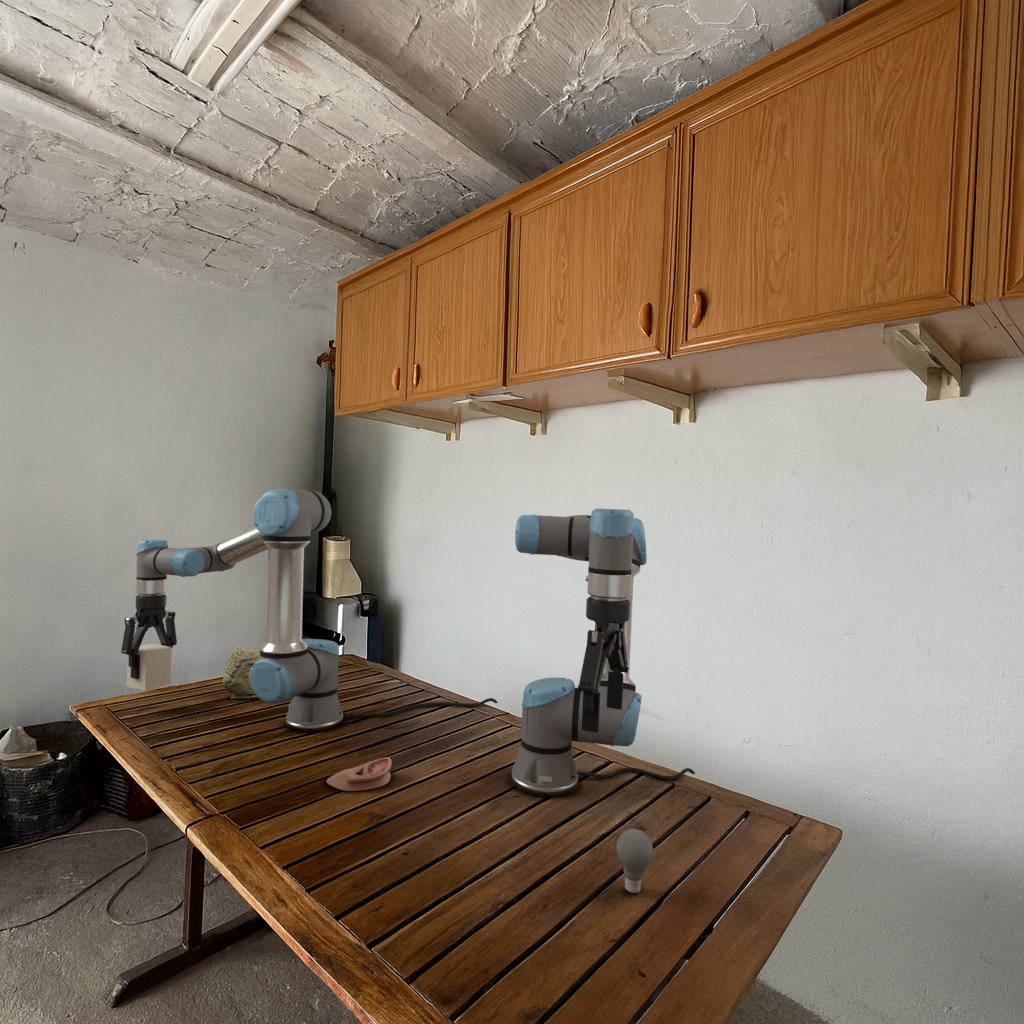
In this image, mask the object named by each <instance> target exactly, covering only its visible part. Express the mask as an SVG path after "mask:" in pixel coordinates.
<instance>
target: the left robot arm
mask: <svg viewBox="0 0 1024 1024" xmlns="http://www.w3.org/2000/svg"><path fill="white" fill-rule="evenodd" d="M331 518H332V507H331V504H330V502H329V500H328V499H327V497H325V495H323V494H322V493H321V492H319V491H316V490H313V489H312V490H311V489H293V488H273V489H270V490H268V491H265V492H264V493H263V494H262V495H261V496H260V497H258V499H257V500H256V502H255V504H254V507H253V511H252V521H253V525H254V526H252V527H250V528H247V529H245V530H243V531H241V532H239V533H237V534H234V535H233V536H230V537H228V538H226V539H224V540H222V541H220V542H218V543H215V544H213V545H210V546H199V547H198V546H197V547H185V548H184V547H181V548H178V547H169V545H168V544H169V543H168V540H166V539H160V538H156V539H155V538H153V539H150V538H149V539H148V538H147V539H140V540H139V541H138V542H137V548H136V553H135V556H136V575H135V576H136V583H135V584H136V585H135V594H137V595H136V596H135V610H136V612H135V614H134V615H133V616H130V617H127V616H126V617H125V618H124V632H123V638H122V644H121V650H120V653H121V654H123V655H126V656H127V662H128V661H129V662H128V665H129V667H131V678H134V679H139V673H140V655H137V653H138V650H139V648H140V646H142V642H143V640H144V638H145V635H146V633H147V632H148V630H149V629H151V628H154V630H155V632H156V635H157V638H158V639H159V643H160V645H163V646H168V647H172V649H173V648H174V646H177V644H178V641H177V640H178V639H177V631H176V622H175V619H176V614H177V613H176V612H175V611H172V610H171V611H170V610H168V611H167V610H166V607H167V594H166V593H167V591H168V576H175V577H176V576H177V577H181V578H186V577H188V578H189V577H190V578H192V577H196V576H197V575H200V574H205V573H216V572H224V571H227V570H228V571H229V570H232V569H233V568H235V566H236V565H237V563H240V562H242V561H244V560H246V559H248V558H251V557H253V556H255V555H258V554H260V553H262V552H265V551H267V550H268V561H267V562H268V563H267V597H266V599H267V600H266V602H267V603H266V604H267V605H266V606H267V607H266V640H265V642H264V643H263V644H262V645H261V646H260V647H259V648H260V660H259V661H256V663H254V665H253V666H252V667H251V670H250V673H249V680H250V685H251V687H252V690H253V691H254V693H256V694H257V696H258V697H257V698H259V700H261V701H263V702H265V703H267V704H278V703H282V702H286V701H290V700H291V701H290V703H289V704H288V711H287V713H286V715H285V726H286V728H287V729H289V730H291V731H294V732H295V731H296V732H301V733H316V732H325V731H329V730H332V729H335V728H337V727H339V726H340V725H342V723H343V722H344V717H357V718H364V717H366V718H370V717H371V718H372V717H376V718H377V717H385V716H386V717H387V716H392V715H395V714H398V713H401V712H403V711H404V712H405V711H406V710H407V711H408V710H411V709H412V710H413V709H415V708H416V709H417V708H421V707H431V706H454V707H469V708H470V707H471V708H472V707H479V706H482V705H484V704H487V703H489V702H492V703H494V704H499V702H498V700H496V698H493V697H489V698H486V699H484V700H481V701H479V702H475V703H474V702H472V703H468V702H467V703H466V702H451V701H450V702H449V701H448V702H447V701H446V702H445V701H444V702H443V701H442V702H441V701H435V702H421V703H416V704H411V705H406V706H403V707H399V708H396V709H394V710H391V711H386V712H371V713H370V712H367V713H366V712H365V713H364V712H363V713H362V712H360V713H359V712H343V709H342V706H341V702H340V699H339V695H338V682H339V662H340V661H339V660H340V659H339V657H340V652H339V651H340V650H339V648H340V646H339V644H338V643H337V642H335V641H334V640H328V639H320V638H319V639H318V638H303V603H304V601H303V600H304V566H305V565H304V564H305V563H304V559H305V548H306V546H308V544H310V542H311V535H312V534H316V533H318V532H320V531H322V530H324V528H326V527H327V526H328V525H329V522H330V521H331ZM164 622H165V623H164ZM128 656H129V658H128ZM479 703H480V704H479Z"/></svg>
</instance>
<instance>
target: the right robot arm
mask: <svg viewBox="0 0 1024 1024" xmlns="http://www.w3.org/2000/svg"><path fill="white" fill-rule="evenodd" d="M514 542H515V543H514V545H515V548H516V551H517V552H519V553H521V554H527V555H541V556H556V557H562V558H564V559H565V558H566V559H569V560H573V561H579V562H588V567H587V575H586V576H585V577H584V580H585V582H587V587H586V588H587V589H586V593H587V595H589V596H588V597H587V598H586V605H585V617H586V618H587V619H588V620H589V621H593V622H594V630H593V629H588V631H587V637H586V638H587V639H586V647H585V651H584V657H583V661H582V667H581V672H580V677H579V682H578V685H577V687H576V684H575V682H574V681H573V680H572V679H571V678H566V677H558V676H557V677H556V676H555V677H544V678H540V679H536V680H533V681H530V682H529V683H528V684H527V685H526V686H525V687H524V689H523V696H522V702H521V707H522V708H521V709H522V712H521V716H522V717H521V735H520V748H519V751H518V753H517V756H516V759H515V761H514V764H513V766H512V769H511V777H510V779H511V783H512V785H513V786H514V787H515V788H516V789H518V790H519V791H520V792H523V793H525V794H528V795H532V796H537V797H545V798H549V797H551V798H552V797H561V796H566V795H568V794H571V793H573V792H574V791H575V790H576V789H577V788H578V786H579V776H584V777H592V778H597V779H607V778H610V777H613V776H615V775H617V774H620V773H623V772H637V773H641V774H644V775H647V776H650V777H653V778H656V779H659V780H660V779H661V780H667V781H668V780H669V781H671V780H677V779H679V778H681V777H682V776H683V775H685V774H686V773H687V772H688V773H690V774H692V775H695V774H696V772H695V771H694V770H693V769H692V768H689V767H686V768H683V769H682V770H681V771H679V773H677V774H673V775H663V774H658V773H655V772H651V771H649V770H646V769H642V768H637V767H620V768H618V769H615V770H614V771H612V772H608V773H604V774H602V773H601V774H599V773H595V772H594V773H592V772H586V771H578V769H577V765H576V762H575V759H574V755H573V752H572V746H573V745H572V743H573V742H578V743H587V744H595V745H606V746H611V747H614V746H615V747H629V746H632V745H633V743H634V742H635V739H636V736H637V735H636V734H637V730H638V723H639V718H640V712H641V705H642V699H643V695H642V694H641V693H639V692H636V690H637V684H635V682H634V681H633V680H632V679H631V677H630V673H631V669H630V668H631V650H632V649H631V647H632V624H633V604H634V603H633V599H634V579H635V577H636V576H637V575H638V574H639V573H640V572H641V566H644V565H646V564H647V558H648V557H647V555H648V554H647V541H646V531H645V526H644V523H643V521H642V520H641V518H638V517H635V515H634V512H633V511H632V510H630V509H623V508H621V509H619V508H597V507H596V508H594V509H593V510H592V511H591V513H590V515H588V514H578V515H577V514H576V515H568V516H557V515H538V514H523V515H520V516H519V517H518V518H517V520H516V524H515V532H514Z"/></svg>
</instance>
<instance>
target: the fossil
mask: <svg viewBox="0 0 1024 1024" xmlns="http://www.w3.org/2000/svg"><path fill="white" fill-rule="evenodd" d="M259 660H260V647H258V648H251V647H247V646H246V647H245V646H238V647H237V648H236V649H235V650H233V651H232V653H231V656H230V657H229V659H228V660H227V663H226V666H225V668H224V671H223V675H222V676H223V677H222V685H223V687H224V688H225V690H226V691H228V693H229V698H230V699H250V698H259V697H258V696H257V694H256V693H254V691H253V690H252V687H251V685H250V680H249V673H250V670H251V667H252V666H253V665H254V663H256V661H259Z"/></svg>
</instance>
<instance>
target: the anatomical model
mask: <svg viewBox="0 0 1024 1024" xmlns="http://www.w3.org/2000/svg"><path fill="white" fill-rule="evenodd" d="M392 765H393V761H392V758H391V757H388V756H387V757H381V758H377V759H374V760H371V761H368V762H364V763H362V764H360V765H358V766H354V767H351V768H346V769H343V770H341V771H338V772H337V773H335V774H333V775H331V776H330V777H329V778H327V780H326V784H327V785H329V786H331V787H333V788H335V789H337V790H340V791H344V792H355V791H356V792H357V791H358V792H359V791H367V790H372V789H377V788H380V787H383V786H385V785H387V784H388V783H389V782H390V781H391V777H392V775H391V772H390V771H391V769H392Z"/></svg>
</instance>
